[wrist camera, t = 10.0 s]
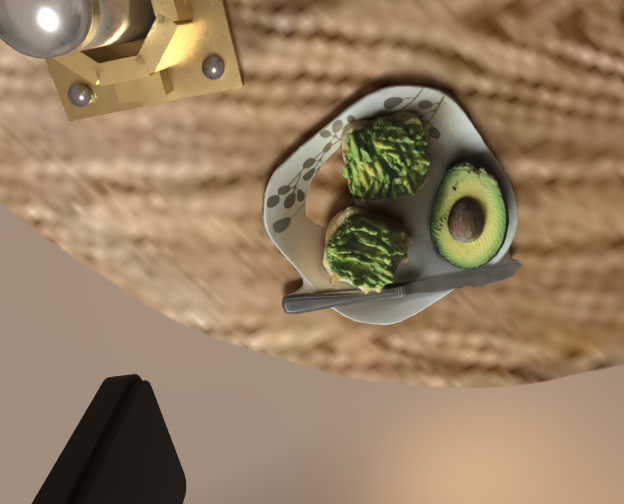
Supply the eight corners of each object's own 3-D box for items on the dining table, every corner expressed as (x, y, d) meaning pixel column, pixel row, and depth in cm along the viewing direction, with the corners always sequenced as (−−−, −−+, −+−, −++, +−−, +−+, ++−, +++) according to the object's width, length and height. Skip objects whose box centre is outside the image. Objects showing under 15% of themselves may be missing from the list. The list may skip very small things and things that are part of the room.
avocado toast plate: (341, 363, 45) (344, 399, 41) (204, 209, 39) (191, 233, 35) (544, 241, 40) (571, 268, 36) (423, 44, 34) (439, 49, 30)
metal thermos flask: (148, -40, 31) (60, -65, 20) (169, 33, 33) (98, 47, 22) (82, -25, 31) (-39, -42, 20) (106, 47, 33) (7, 67, 22)
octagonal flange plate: (193, -129, 30) (172, -154, 25) (244, 84, 35) (234, 95, 30) (-2, -83, 31) (-56, -99, 26) (75, 118, 36) (41, 134, 31)
